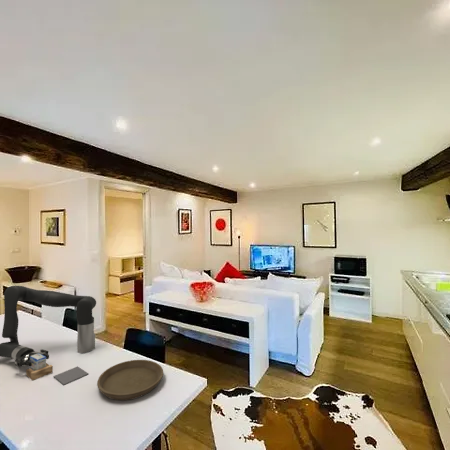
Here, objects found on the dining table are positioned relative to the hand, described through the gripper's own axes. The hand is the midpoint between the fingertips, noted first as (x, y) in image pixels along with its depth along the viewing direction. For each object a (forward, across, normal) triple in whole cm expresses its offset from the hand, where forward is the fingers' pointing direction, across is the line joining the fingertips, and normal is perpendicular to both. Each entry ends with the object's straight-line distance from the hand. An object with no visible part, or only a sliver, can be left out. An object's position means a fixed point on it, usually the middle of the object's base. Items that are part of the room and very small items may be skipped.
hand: (39, 360), depth 138 cm
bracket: (+1, 0, +6) cm, 7 cm away
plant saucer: (+51, +15, +7) cm, 53 cm away
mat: (+18, +6, +6) cm, 20 cm away
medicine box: (-2, 0, +7) cm, 7 cm away
